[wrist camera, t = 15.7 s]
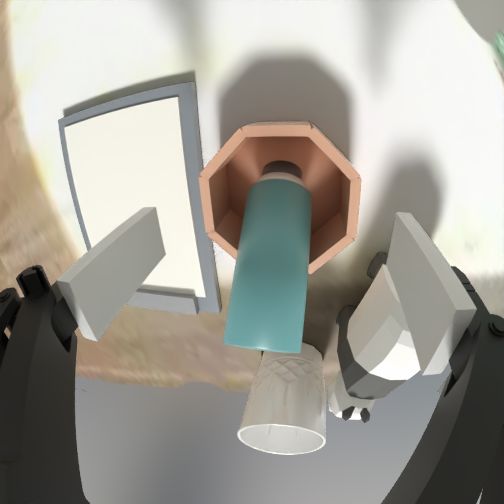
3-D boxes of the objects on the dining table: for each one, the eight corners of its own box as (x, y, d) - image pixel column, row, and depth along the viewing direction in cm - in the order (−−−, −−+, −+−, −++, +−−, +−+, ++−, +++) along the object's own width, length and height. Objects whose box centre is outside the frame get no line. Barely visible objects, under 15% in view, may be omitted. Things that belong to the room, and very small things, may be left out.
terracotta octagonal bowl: (217, 124, 18) (193, 130, 14) (350, 123, 16) (363, 128, 13) (228, 239, 23) (211, 270, 19) (343, 244, 21) (350, 277, 17)
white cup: (288, 324, 26) (275, 415, 18) (343, 358, 27) (344, 441, 19) (242, 358, 30) (221, 435, 22) (294, 386, 31) (285, 458, 23)
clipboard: (63, 118, 19) (52, 121, 18) (195, 82, 17) (186, 80, 15) (108, 293, 29) (101, 301, 28) (222, 308, 27) (217, 319, 25)
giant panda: (378, 236, 20) (413, 322, 12) (431, 257, 20) (476, 339, 12) (310, 353, 28) (304, 434, 20) (355, 364, 28) (359, 440, 19)
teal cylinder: (244, 155, 17) (210, 340, 13) (309, 151, 15) (295, 350, 11) (260, 191, 20) (236, 347, 16) (315, 190, 19) (303, 354, 15)
